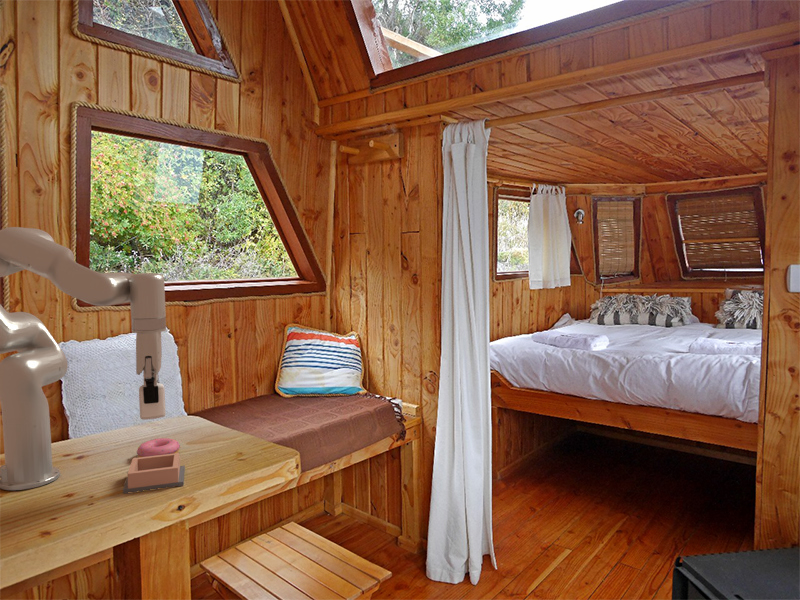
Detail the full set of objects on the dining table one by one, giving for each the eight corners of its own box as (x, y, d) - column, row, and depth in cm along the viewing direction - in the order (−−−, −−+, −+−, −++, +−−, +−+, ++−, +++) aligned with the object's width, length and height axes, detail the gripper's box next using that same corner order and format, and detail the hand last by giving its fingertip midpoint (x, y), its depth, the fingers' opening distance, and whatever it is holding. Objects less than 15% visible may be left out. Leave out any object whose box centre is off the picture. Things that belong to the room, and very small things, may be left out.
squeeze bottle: (160, 420, 132) (158, 370, 132) (137, 420, 133) (134, 370, 132) (168, 414, 137) (166, 366, 136) (145, 414, 137) (143, 366, 136)
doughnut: (148, 449, 158) (147, 435, 158) (187, 449, 158) (186, 435, 158) (129, 464, 148) (128, 449, 147) (170, 464, 147) (169, 449, 147)
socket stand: (122, 493, 129) (122, 474, 128) (128, 476, 139) (128, 458, 139) (183, 485, 133) (182, 467, 133) (184, 469, 143) (184, 452, 143)
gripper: (135, 322, 139) (138, 394, 141) (127, 330, 124) (130, 411, 125) (167, 320, 142) (170, 391, 143) (163, 328, 126) (166, 408, 128)
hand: (152, 400), depth 134 cm, fingers closed on squeeze bottle, 3 cm apart
